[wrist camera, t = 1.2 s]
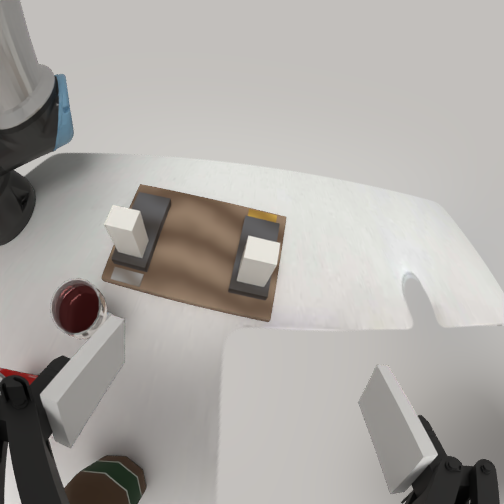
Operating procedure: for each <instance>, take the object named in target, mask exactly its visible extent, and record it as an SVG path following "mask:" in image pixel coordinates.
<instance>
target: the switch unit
mask: <svg viewBox="0 0 504 504" xmlns="http://www.w3.org/2000/svg"><path fill="white" fill-rule="evenodd" d="M129 209H134V210H138V211H140V212H141V216H142V219H143V223H144V226H145V230H146V233H147V236H148V240H149V241H148V244H147V246H146V249H145V252H144V255H143V258H139V257H136V256H132V255H128V254H124V253H120V252H118V251H117V249H116V247H115V245H114V246H113V248H112V251H111V253H110V256H109V259H108V261H107V264H106V267H105V269H104V272H103V275H102V280H103V281H105V282H109V283H112V284H116V285H119V286H123V287H126V288H130V289H133V290H137V291H140V292H144V293H148V294H151V295H155V296H159V297H163V298H167V299H170V300H174V301H178V302H182V303H186V304H190V305H194V306H198V307H203V308H207V309H211V310H215V311H220V312H224V313H228V314H233V315H237V316H242V317H247V318H251V319H256V320H261V321H266V322H269V321H270V319H271V313H272V307H273V301H274V294H275V288H276V282H277V276H278V269H279V263H280V256H281V250H282V243H283V236H284V230H285V223H286V217H285V216H281V215H277V214H272V213H268V212H264V211H260V210H256V209H252V208H248V207H243V206H239V205H235V204H230V203H226V202H222V201H217V200H213V199H208V198H204V197H199V196H195V195H190V194H185V193H181V192H176V191H171V190H166V189H162V188H157V187H152V186H147V185H142V184H140V186H139V188H138V190H137V192H136V194H135V197H134V199H133V201H132V203H131V205H130V208H129ZM248 236H252V237H256V238H261V239H265V240H269V241H273V242H278V243H280V249H279V255H278V261H277V266H276V268H275V269H274V271H273V273H272V274H271V276H270V278H269V280H268V281H267V283H266V285H265V286H264V287H261V286H256V285H252V284H248V283H243V282H239V281H237V276H238V271H239V267H240V262H241V259H242V255H243V252H244V249H245V245H246V242H247V239H248Z"/></svg>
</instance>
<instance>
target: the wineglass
mask: <svg viewBox="0 0 504 504" xmlns="http://www.w3.org/2000/svg"><path fill="white" fill-rule="evenodd" d="M51 315H52V319H53V321H54V323H55V325H56V326H57V328H59V329H60V330H61V331H62V332H64V333H66V334H68V335H69V336H71V337H74V338H77V339H88V338H90V337H91V336H92V335H93V334H94V333H95V332H96V331H97V330H98V329H99V328H100V327H101V326H102V325H103V323H104V322H105V321H106V320H107V319H108V318H109V317H110V316H111V315H113V314H112V313H109V312H107V305H106V302H105V299H104V297H103V295H102V294H101V293H100V291H99V290H98V289H96V288H95V287H94V285H93V284H91V283H90V282H88V281H87V280H84V279H80V278H76V279H70V280H68V281H66V282H64V283H63V284H61V285H60V286H59V287H58V288H57V290H56V291H55V293H54V295H53V297H52V301H51ZM113 316H115V315H113Z"/></svg>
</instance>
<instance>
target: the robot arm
mask: <svg viewBox="0 0 504 504" xmlns="http://www.w3.org/2000/svg"><path fill="white" fill-rule="evenodd" d="M73 134H74V132H73V124H72V118H71V112H70V105H69V98H68V91H67V84H66V77H65V75H64V74H59V75H58V74H57V75H54V74H53V72H52V70H51V69H50V68H49V67H47V66H45V65H41V64H38V61H37V58H36V55H35V52H34V49H33V45H32V42H31V39H30V36H29V32H28V29H27V26H26V22H25V18H24V14H23V11H22V7H21V2H20V0H0V245H3V244H5V243H7V242H9V241H11V240H12V239H13V238H15V237H16V236H17V235H18V234H19V233H20V232H21V231H22V229H23V228H24V227H25V225H26V224H27V222H28V221H29V219H30V217H31V215H32V212H33V209H34V205H35V193H34V190H33V188H32V186H31V185H30V183H29V181H28V180H27V179H26V178H25V177H23V176H21V175H20V174H19V173H17V172H16V171H14V169H16V168H18V167H20V166H22V165H24V164H26V163H28V162H30V161H32V160H34V159H36V158H39V157H40V156H43V155H45V154H48V153H50V152H53V151H55V150H56V149H57V148H59V147H61V146H63V145H65V144H67V143H69V142H70V141H71V139H72V137H73ZM124 363H125V319H123V318H120V317H116V316H113V315H111V316H110V317H109V318H108V319H107V320H106V321H105V322H104V323H103V325H102V326H101V327H100V328H99V329H98V330H97V331H96V332H95V333H94V334H93V335H92V336H91V337H90V338H89V340H88V341H87V342H86V343H85V344H84V345H83V346H82V347H81V348H80V349H79V351H78V352H77V353H76V354H75V355H74V356H73V357H72V358H71V359H70V358H67V357H65V356H60V357H58V358H56V359H54V360H53V361H52V362H51V363H50V364H49V365H48V366H47V368H45V369H44V370H43V371H42V373H40V375H39V376H38V377H37V378H36V379H35V380H34V381H33V382H32V383H31V384H30V385H29V382H28V381H27V380H26V379H25V378H24V377H22V376H19V375H11V376H7V377H5V378H3V379H2V381H1V382H0V393H1V395H0V504H4V485H5V468H6V456H7V447H8V442H9V448H10V454H11V460H12V465H13V470H14V475H15V479H16V484H17V488H18V492H19V496H20V499H21V503H22V504H70V503H69V501H68V498H67V495H66V493H65V490H64V487H63V485H62V482H61V479H60V476H59V473H58V470H57V467H56V463H55V460H54V457H53V453H52V450H51V446H50V442H49V440H48V438H49V437H50V435H51V434H52V433H53V436H54V439H55V441H56V442H59V443H61V444H63V445H65V446H67V447H69V448H71V447H72V446H73V444H74V442H75V441H76V439H77V437H78V436H79V434H80V432H81V431H82V429H83V427H84V426H85V424H86V423H87V421H88V419H89V418H90V416H91V414H92V413H93V411H94V410H95V408H96V406H97V405H98V403H99V402H100V400H101V398H102V397H103V395H104V394H105V392H106V391H107V389H108V387H109V386H110V384H111V383H112V381H113V380H114V378H115V376H116V375H117V373H118V372H119V370H120V369H121V367H122V366H123V364H124ZM358 403H359V406H360V409H361V412H362V414H363V417H364V420H365V423H366V425H367V428H368V431H369V433H370V436H371V439H372V442H373V445H374V448H375V450H376V453H377V456H378V459H379V462H380V465H381V468H382V471H383V473H384V477H385V480H386V483H387V486H388V489H389V492H390V494H394V493H400V492H405V490H407V489H408V487H409V486H410V485H411V484H412V487H413V491H412V492H411V493H410V494H409V495H408V496H407V497H406V498H405V499H404V500H403V501H402V502H401V503H404V502H405V501H406V500H407V501H406V503H405V504H469V500H470V504H499V491H498V482H497V474H496V469H495V466H494V465H493V463H492V462H490V461H489V460H486V459H481V460H479V461H478V462H477V463H476V464H475V465H474V466H463V465H462V463H461V462H460V461H459V460H458V459H456V458H455V457H451V456H447V455H446V453H445V451H444V449H443V447H442V445H441V443H440V442H439V440H438V438H437V437H436V434H435V433H434V431H432V427H431V426H430V424H429V422H428V421H427V420H426V419H425V418H424V417H423V416H422V415H418V416H417V414H416V412H415V411H414V409H413V407H412V405H411V403H410V402H409V400H408V398H407V397H406V395H405V393H404V391H403V389H402V388H401V386H400V384H399V382H398V381H397V379H396V377H395V375H394V374H393V372H392V370H391V369H390V367H389V366H388V365H376V367H375V369H374V372H373V374H372V376H371V378H370V380H369V382H368V384H367V386H366V388H365V390H364V392H363V394H362V396H361V398H360V400H359V402H358Z"/></svg>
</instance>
